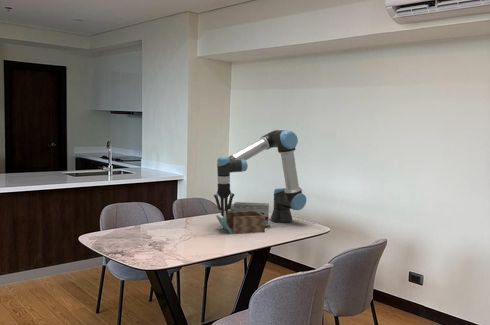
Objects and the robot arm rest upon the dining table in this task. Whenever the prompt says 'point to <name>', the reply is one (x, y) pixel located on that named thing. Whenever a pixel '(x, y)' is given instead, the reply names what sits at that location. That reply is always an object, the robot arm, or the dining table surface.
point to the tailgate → (224, 224)
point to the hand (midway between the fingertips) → (224, 221)
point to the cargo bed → (245, 222)
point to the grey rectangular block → (251, 208)
